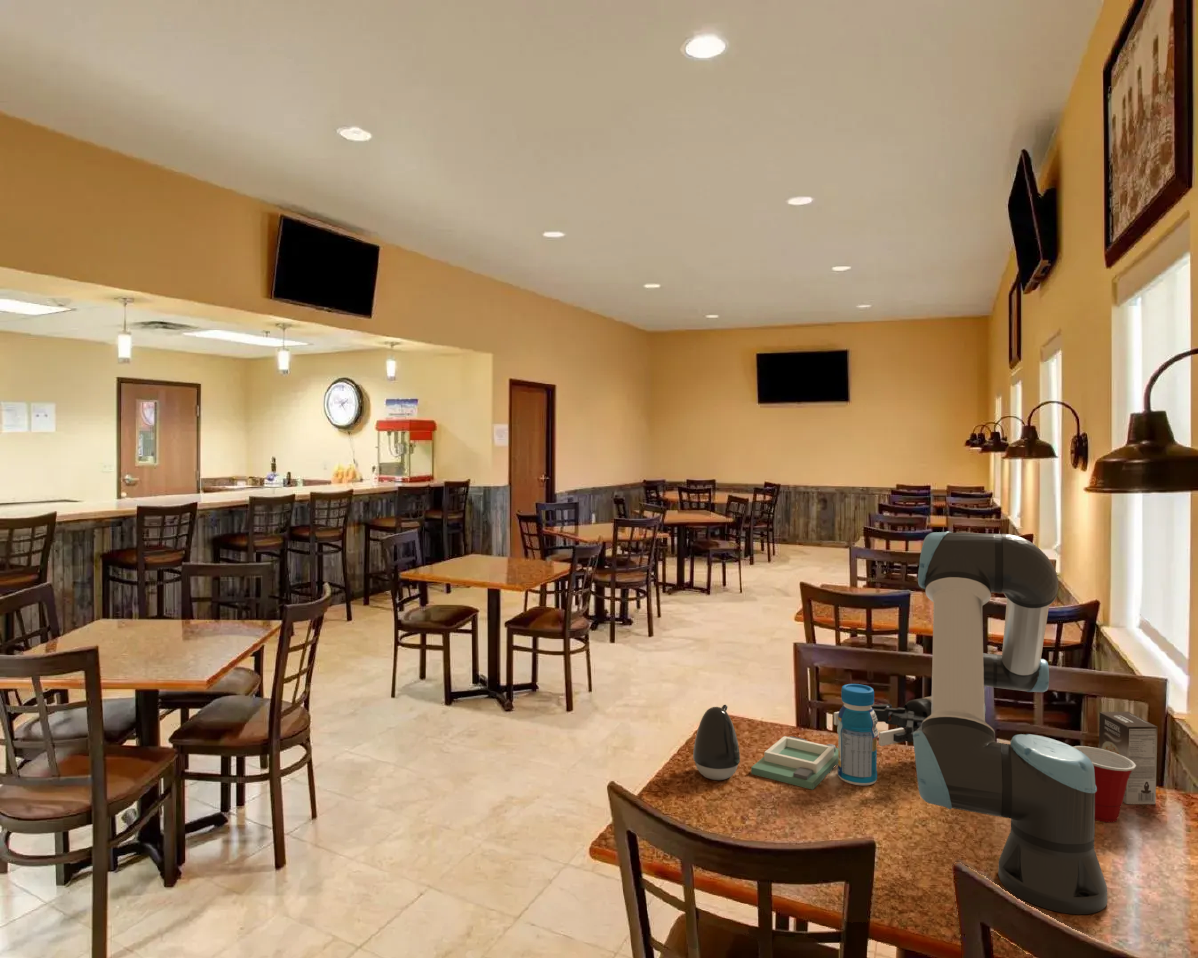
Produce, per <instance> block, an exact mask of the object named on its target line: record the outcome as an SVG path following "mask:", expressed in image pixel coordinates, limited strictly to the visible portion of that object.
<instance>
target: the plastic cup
mask: <svg viewBox="0 0 1198 958" xmlns="http://www.w3.org/2000/svg"><path fill="white" fill-rule="evenodd" d="M1073 747H1074V748H1076V749H1077V750H1079V751H1081V752H1082V753H1084V754H1085V755H1086V756H1087V757H1088V758H1089V759H1090V760H1091V762H1092V763H1093V766H1094V772H1095V785H1096V787H1097V791H1096V792H1095V821H1098V822H1102V823H1115V822H1117V821H1118V819H1119V817H1120V812H1121V808H1122V804H1123V803H1124V802H1123V798H1124V794H1125V790H1126V786H1127V781H1128V779H1129V776H1130V774H1131V771H1132V770H1133V769H1134V768H1135V767H1136V765H1135V763H1134V762H1133V761H1131V760H1130V759H1128V758H1126V757H1124V756H1122V755H1119V754H1116V753H1114V752H1110V751H1107V750H1103V749H1099V747H1092V746H1085V745H1075V746H1073Z"/></svg>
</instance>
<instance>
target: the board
mask: <svg viewBox="0 0 1198 958" xmlns="http://www.w3.org/2000/svg"><path fill="white" fill-rule="evenodd" d="M836 746H837V745H835V744H832V743H828V744H822V743H817V742H813V741H808V740H807V739H805V738H802V737H798V736H792V735H790V736H786V735H784V736H782V737H781V738H780V739H779V740H777V741H776V742H774V744H773V745H771V746H770V747H768V749H766V750H765V751H764V753H763V754H764V756H763V757H762V758H760V759H759V760H758V761H757V762H756V763H755V764H753V765H752V766H751V767H750V773H751V775H754V776H757V777H763V778H766V779H770V780H774V781H778V782H782V783H786V784H789V785H793V786H796V787H800V788H804V789H809V790H812V791H813V790H815V789H816V788H817V786H819V784H820V783H822V781H823V780H824V779H825V778H826V777H827V776H828V775H829V774H830V773H831V771H832V770H834V768H835V767H836V766H838V747H836ZM835 765H836V766H835ZM834 766H835V767H834ZM833 767H834V768H833ZM828 773H829V774H828ZM827 774H828V775H827ZM826 775H827V776H826ZM825 776H826V777H825Z"/></svg>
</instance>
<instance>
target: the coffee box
mask: <svg viewBox="0 0 1198 958" xmlns="http://www.w3.org/2000/svg"><path fill="white" fill-rule="evenodd" d="M1098 719H1099V721H1098V723H1099V725H1098V729H1099V730H1098V748H1099V749H1103V750H1107V751H1110V752H1114V753H1116V754H1119V755H1122V756H1124V757H1126V758H1128V759H1130V760H1131V761H1133V762H1134V763H1135V765H1136V767H1135V768H1134V769H1133V770H1132V771H1131V774H1130V776H1129V779H1128V781H1127V786H1126V790H1125V794H1124V798H1123V802H1122V803H1124V804H1125V805H1156V801H1157V796H1156V795H1157V792H1156V791H1157V759H1158V758H1157V757H1158V755H1157V753H1158V726H1157V725H1155V724H1152V723H1151V722H1148V721H1147V720H1145V719H1143V718H1141V717H1139V716H1138V715H1135V714H1133V713H1132V712H1130V711H1099V717H1098Z"/></svg>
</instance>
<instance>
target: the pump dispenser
mask: <svg viewBox="0 0 1198 958" xmlns="http://www.w3.org/2000/svg"><path fill="white" fill-rule="evenodd" d="M727 710H728V705H727V704H722V706H721V707H719V706H712V707H710V708H708V709H706V711H705V713H703V715H702V718H701V719H700V722H699V725H698V728H697V731H696V735H695V739H694V744H693V746H694V747H693V752H692V753H693V755H692V759H693V761H694V763H695V766H696V768H697V771H698V772H699V773H700V774H701V775H702V776H703V777H704V778H707V779H708V780H712V781H723V780H726V779H730V778H731V777H732V776H733V775H734V774H735V773H736V771H737V769H738V766H739V764H740V763H741V755H740V746H739V742H738V738H737V736H738V735H737V732H736V729H735V727H734V723H733V721H732V719H731V716H730V715H729V713H728V712H727Z"/></svg>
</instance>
